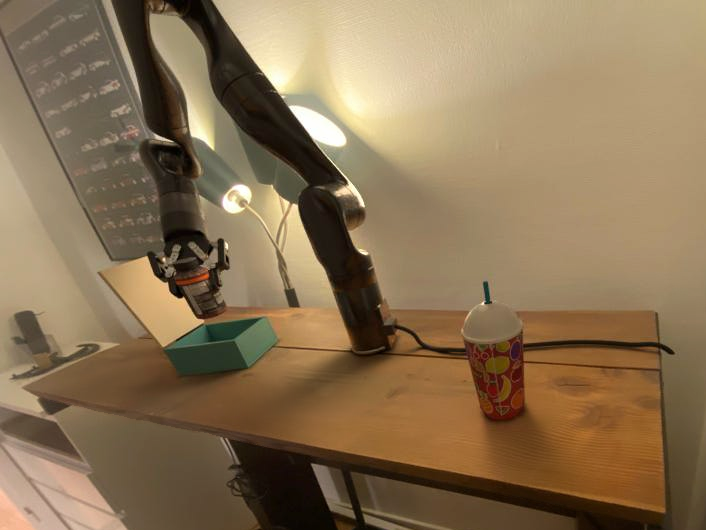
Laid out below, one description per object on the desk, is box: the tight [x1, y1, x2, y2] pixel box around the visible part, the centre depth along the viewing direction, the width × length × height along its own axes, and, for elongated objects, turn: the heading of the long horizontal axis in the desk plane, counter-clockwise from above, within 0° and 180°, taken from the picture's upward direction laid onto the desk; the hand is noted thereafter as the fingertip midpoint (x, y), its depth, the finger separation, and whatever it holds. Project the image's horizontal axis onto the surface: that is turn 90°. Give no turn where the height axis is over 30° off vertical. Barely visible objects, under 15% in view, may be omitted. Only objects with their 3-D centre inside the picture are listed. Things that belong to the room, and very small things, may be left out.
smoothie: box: [460, 280, 526, 421], centre depth 52 cm, size 8×8×20 cm
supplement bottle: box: [172, 257, 229, 320], centre depth 74 cm, size 6×6×11 cm
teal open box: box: [163, 315, 279, 377], centre depth 88 cm, size 17×14×7 cm
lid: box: [96, 255, 205, 349], centre depth 83 cm, size 18×14×5 cm
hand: (197, 292), depth 73 cm, fingers closed on supplement bottle, 6 cm apart
